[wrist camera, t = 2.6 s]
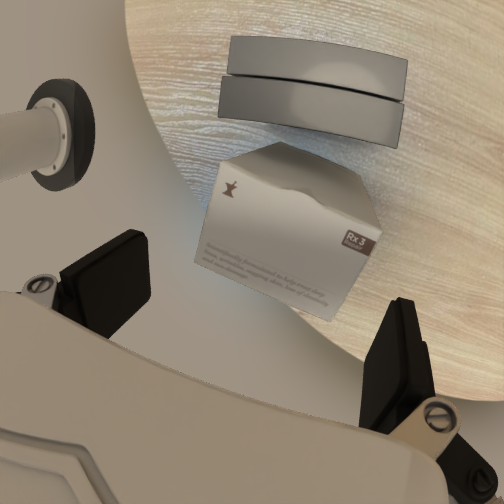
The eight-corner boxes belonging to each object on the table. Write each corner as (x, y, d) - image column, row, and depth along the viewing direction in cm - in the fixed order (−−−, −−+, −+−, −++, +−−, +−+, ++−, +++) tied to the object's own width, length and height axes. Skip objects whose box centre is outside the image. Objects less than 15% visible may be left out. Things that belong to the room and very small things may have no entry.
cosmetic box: (259, 195, 29) (182, 264, 16) (281, 136, 26) (211, 156, 13) (340, 231, 28) (327, 332, 15) (367, 174, 25) (386, 233, 12)
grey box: (266, 117, 26) (217, 117, 16) (273, 63, 23) (227, 33, 14) (377, 138, 23) (397, 149, 14) (386, 82, 21) (410, 57, 12)
